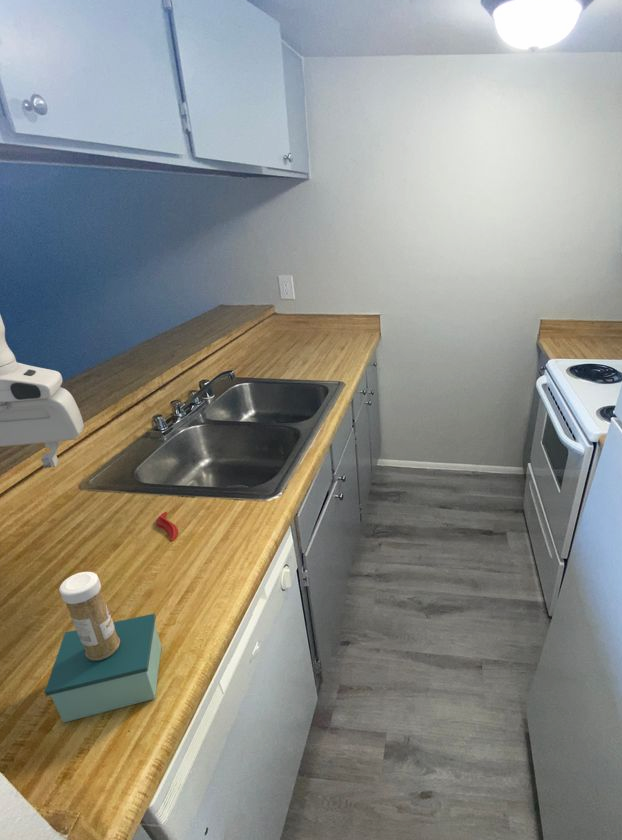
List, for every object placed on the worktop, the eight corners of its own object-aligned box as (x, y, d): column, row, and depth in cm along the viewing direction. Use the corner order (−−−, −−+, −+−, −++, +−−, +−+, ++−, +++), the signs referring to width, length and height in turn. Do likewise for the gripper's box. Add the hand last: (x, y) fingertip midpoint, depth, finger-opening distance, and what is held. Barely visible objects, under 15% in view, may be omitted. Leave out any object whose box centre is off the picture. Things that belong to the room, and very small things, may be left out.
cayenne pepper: (156, 514, 113) (155, 508, 112) (177, 510, 114) (176, 504, 113) (155, 545, 103) (153, 538, 102) (178, 540, 105) (176, 533, 104)
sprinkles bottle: (126, 646, 71) (103, 579, 65) (94, 667, 68) (67, 599, 62) (111, 631, 74) (88, 565, 67) (79, 651, 70) (52, 583, 64)
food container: (60, 725, 68) (44, 692, 64) (78, 664, 77) (65, 632, 73) (157, 700, 72) (146, 667, 68) (163, 644, 81) (154, 613, 77)
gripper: (-129, 397, 59) (-83, 489, 66) (60, 386, 66) (86, 471, 72) (-101, 380, 65) (-60, 467, 71) (72, 371, 71) (95, 452, 77)
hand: (15, 469), depth 72 cm, fingers open, 8 cm apart
